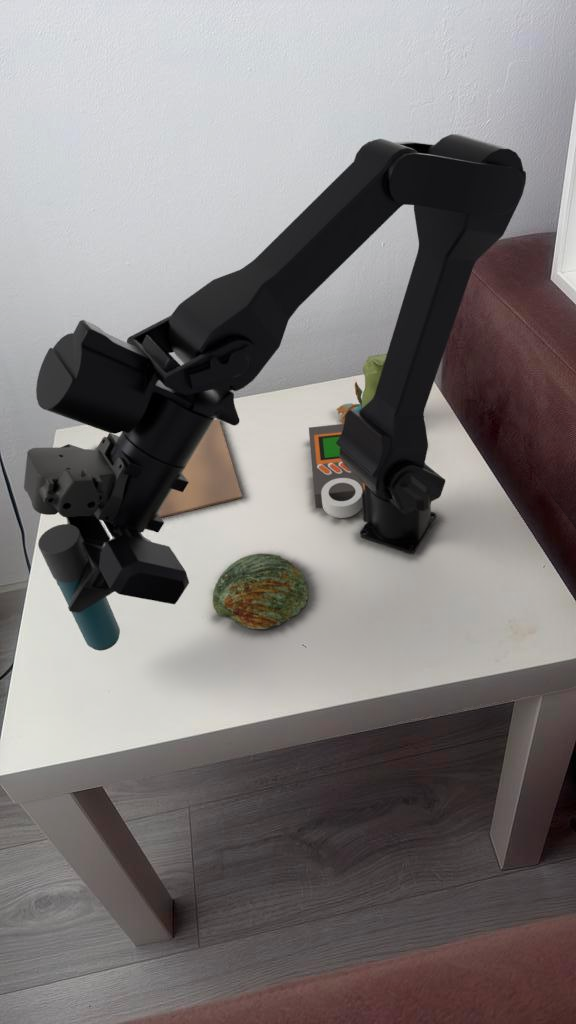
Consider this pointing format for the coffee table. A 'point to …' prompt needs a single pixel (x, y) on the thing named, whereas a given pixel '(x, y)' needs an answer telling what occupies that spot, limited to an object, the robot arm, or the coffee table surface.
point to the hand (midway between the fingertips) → (67, 598)
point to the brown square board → (205, 476)
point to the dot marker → (66, 568)
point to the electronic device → (333, 474)
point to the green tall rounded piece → (372, 376)
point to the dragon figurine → (350, 406)
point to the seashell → (260, 591)
